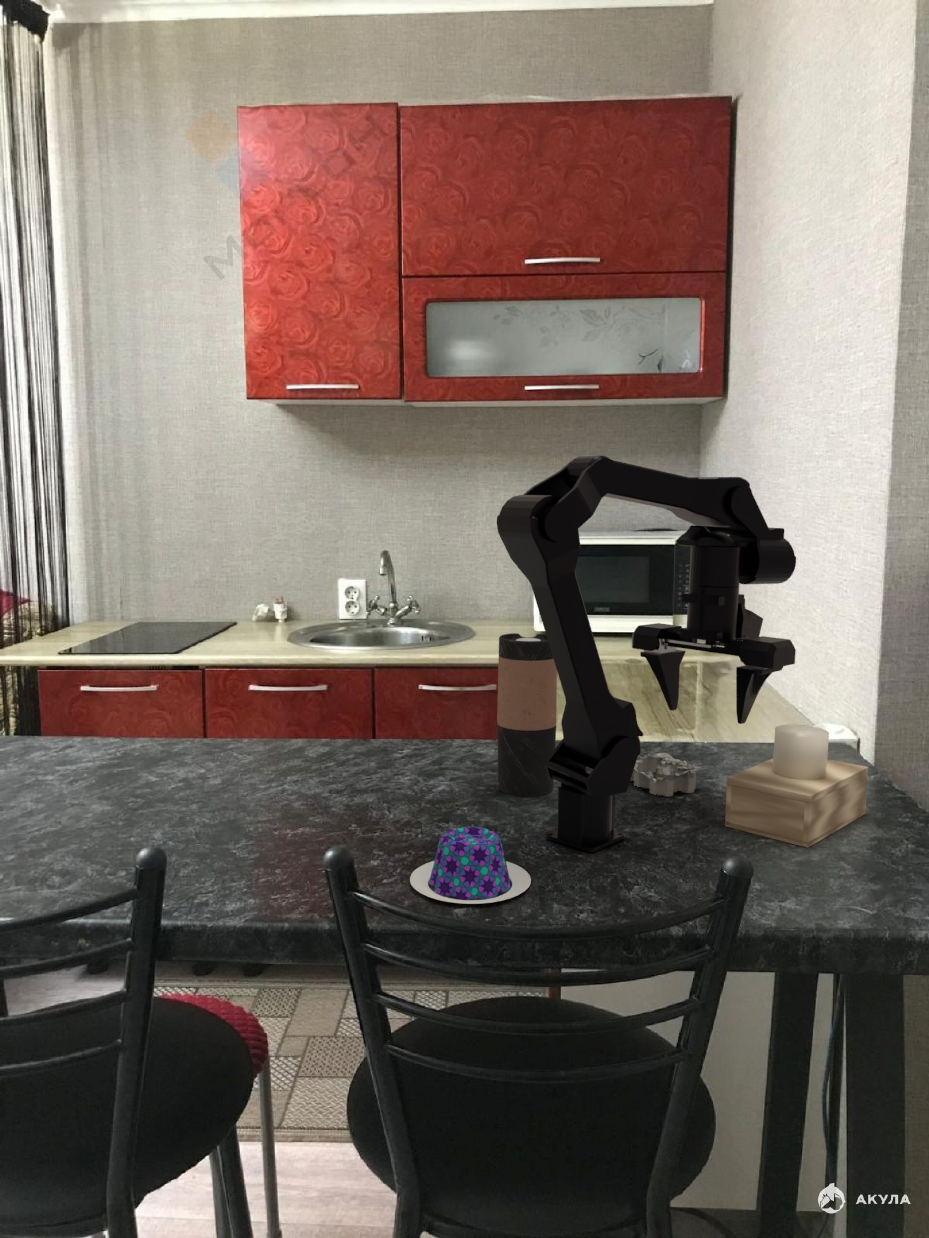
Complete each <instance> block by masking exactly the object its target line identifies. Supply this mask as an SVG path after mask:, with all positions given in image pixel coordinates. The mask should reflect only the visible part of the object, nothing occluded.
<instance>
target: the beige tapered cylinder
mask: <svg viewBox="0 0 929 1238" xmlns="http://www.w3.org/2000/svg"><path fill="white" fill-rule="evenodd" d="M829 735H830V732H829V731H828V730H826V729H823V728H821V727H817V726H813V725H805V724H781V725H778V726H775V727H774V742H773V757H772V759H773V771H774V772H775V773H776V774H779V775H781V776H784V777H788V778H794V779H803V780H815V779H821V778H824V777H825V776H826V770H827V759H828V755H829V754H828V753H829V740H830V738H829V737H830V736H829Z"/></svg>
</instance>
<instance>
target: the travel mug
mask: <svg viewBox="0 0 929 1238" xmlns="http://www.w3.org/2000/svg"><path fill="white" fill-rule="evenodd" d="M497 667H498V671H497V678H498V679H497V713H496V714H497V719H496V723H497V725H496V726H497V727H496V728H497V731H496V732H497V779H498V780H497V781H498V789H499V790H500V792H503V793H505V794H508V795H511V796H517V797H539V796H540V797H541V796H544V795H548V794H549V793H551V792H553V788H554V779H553V780H552V779H550V778H548V775H547V772H546V768H545V765H544V763H545V761H546V760H547V758H548V757H549V756H550V754H551V753H552V752H553V751H554V749H555V748H556V742H557V741H556V740H557V739H556V738H557V737H556V736H557V711H558V710H557V707H558V705H557V703H558V701H557V695H558V694H557V693H558V692H557V690H558V687H557V686H558V685H557V684H558V682H557V681H558V672H557V669H556V665H555V662H554V659H553V655H552V652H551V649H550V646H549V642H548V639H547V636H546V633H537V634H536V635H534V636H531V637H530V636H528V637H526V636H522V635H521V634H520V633H516V632H512V633H506V634H501V635H500V636H499V637H498V666H497Z"/></svg>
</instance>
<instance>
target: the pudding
mask: <svg viewBox="0 0 929 1238" xmlns="http://www.w3.org/2000/svg"><path fill="white" fill-rule="evenodd" d="M502 844H503V843H502V840H501V838H500V836H499V834H498V833H497V832H495V831H492V830H489V829H488V828H485V827H480V826H479V827H474V826H462V827H460V828H451V829H449V830H448V831H446V833H444V834H443V835H442V836H441V837H440V839H439V842H438V846H437V848H436V854H435V857H434V860H432V861H430V862H429V861H428V862H427V863H424V864H422V865H420V866H419V867H417V868H416V869H415V870H413V872H411V875H410V877H409V883H410V885H411V887H412V888H413V889H414V890H415V891H417V892H418V893H420V894H422V895H424V896H426V897H428V898H431V899H434V900H437V901H442V902H447V903H454V904H461V905H462V904H465V905H466V904H467V905H478V904H479V905H480V904H490V903H497V902H501V901H505V900H509V899H512V898H515V897H517V896H519V895H520V894H523V893H524V892H525V891H526V890H528V888H529V887H530V885H531V882H532V878H531V875H530V874H529V873H528V871H526V870H525V869H524V868H523V867H521V866H519V865H518V864H515V863H512V862H510V861H506V857H505V856H506V855H505V853H504V848H503V845H502ZM510 882H511V883H510ZM511 884H512V885H511ZM430 886H431V887H434V888H433V890H432V889H431V888H430ZM500 893H501V894H500ZM502 893H503V894H502ZM499 894H500V895H499ZM498 895H499V896H498ZM446 896H451V897H453V898H451V897H446ZM474 899H475V900H474ZM476 899H477V900H476Z"/></svg>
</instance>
